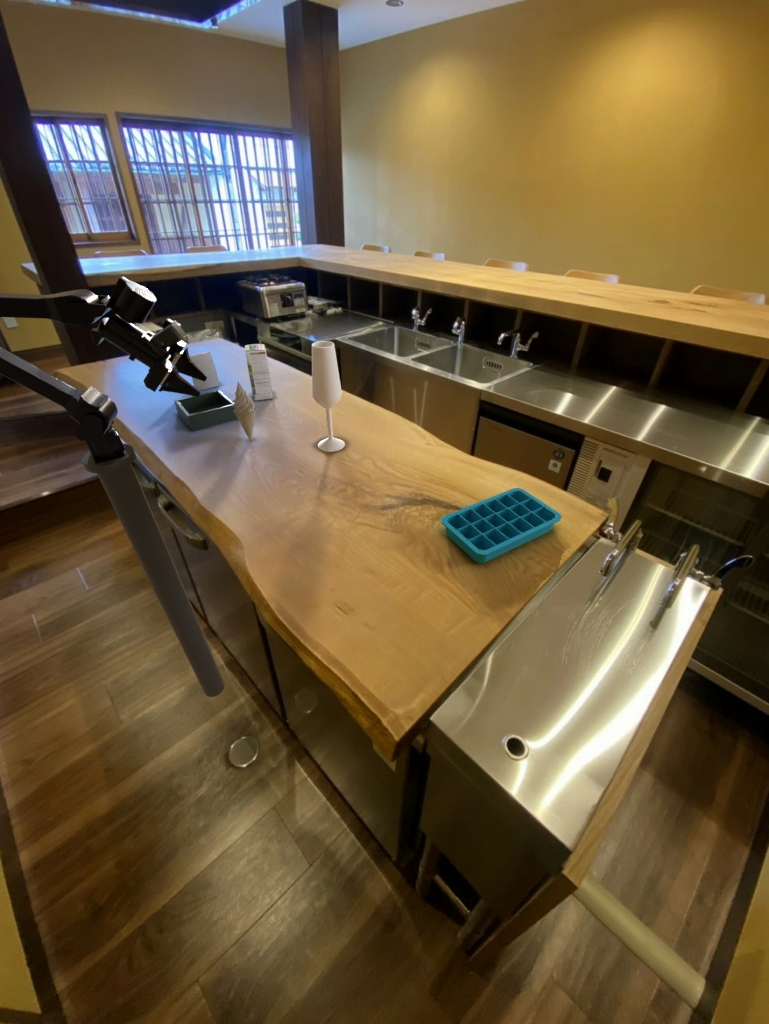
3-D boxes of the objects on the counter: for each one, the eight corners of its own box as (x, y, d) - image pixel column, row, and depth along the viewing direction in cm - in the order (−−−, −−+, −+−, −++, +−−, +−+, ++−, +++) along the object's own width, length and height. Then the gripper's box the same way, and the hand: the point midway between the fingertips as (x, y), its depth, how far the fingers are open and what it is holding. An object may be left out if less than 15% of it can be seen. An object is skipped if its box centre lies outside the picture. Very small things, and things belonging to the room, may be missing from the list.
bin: (192, 431, 110) (187, 416, 107) (178, 414, 118) (173, 400, 115) (239, 418, 116) (235, 404, 113) (222, 403, 124) (219, 389, 121)
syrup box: (252, 393, 129) (243, 344, 120) (272, 391, 131) (264, 343, 122) (253, 401, 125) (244, 350, 116) (274, 398, 126) (266, 348, 117)
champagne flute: (350, 445, 104) (345, 344, 89) (328, 454, 100) (318, 351, 86) (334, 435, 108) (326, 337, 93) (312, 444, 104) (300, 343, 90)
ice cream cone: (252, 433, 109) (240, 376, 100) (265, 439, 106) (254, 381, 97) (236, 440, 106) (222, 382, 96) (248, 447, 103) (235, 387, 94)
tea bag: (219, 385, 134) (212, 353, 128) (198, 390, 131) (189, 357, 125) (215, 382, 137) (207, 350, 131) (194, 387, 133) (185, 354, 127)
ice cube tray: (436, 531, 78) (437, 518, 77) (515, 498, 87) (518, 486, 85) (478, 569, 71) (480, 556, 69) (560, 529, 79) (565, 517, 77)
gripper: (138, 321, 79) (216, 374, 87) (162, 299, 93) (227, 347, 101) (111, 367, 83) (188, 414, 91) (138, 339, 97) (202, 382, 105)
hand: (202, 386), depth 97 cm, fingers open, 9 cm apart
